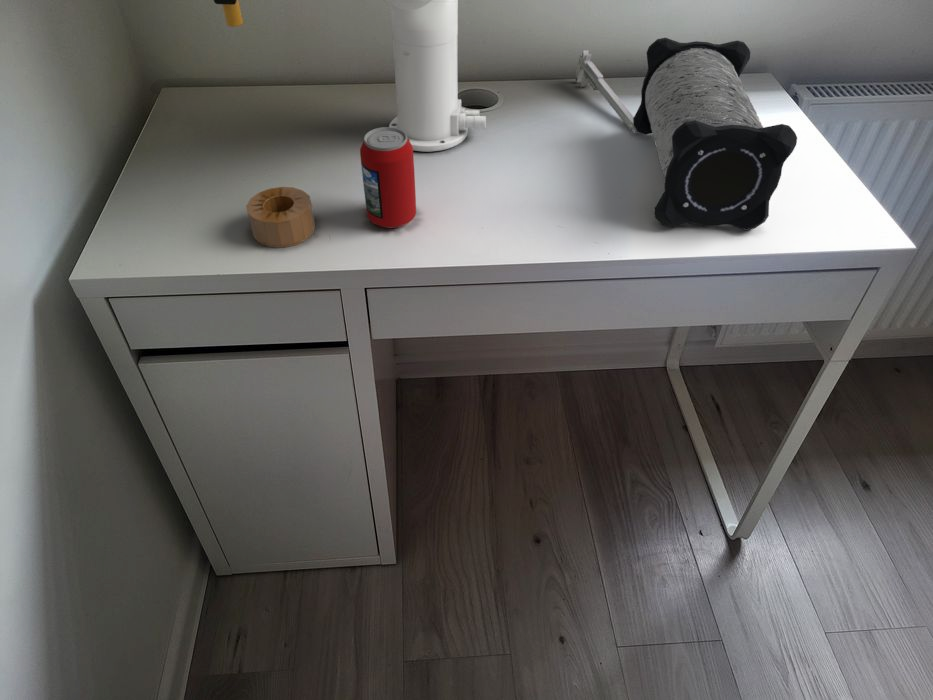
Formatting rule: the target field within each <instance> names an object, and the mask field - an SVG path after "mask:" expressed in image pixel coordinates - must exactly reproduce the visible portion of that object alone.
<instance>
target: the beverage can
mask: <svg viewBox="0 0 933 700" xmlns="http://www.w3.org/2000/svg"><path fill="white" fill-rule="evenodd" d="M359 156H360V166H361V176H362V182H363V184H362V185H363V192H364V200H365V210H366V216H367V219H368V220H369V222H371V223H372V224H374V225H377V226H379V227H382V228H387V229H394V228H400V227H404V226H405V225H407V224H409V223H411V222H412V221H413V220H414V218H415V217H416V215H417V198H416V175H415V161H414V160H415V159H414V150H413V147H412V145H411V143H410V141H409V140H408V138H407V136H406V134H405V132H403V131H402V130H400V129H397V128H392V127H389V126H383V127H377V128H374V129H371V130H369V131H368V132H366V134H365V135H364V136H363V141H362V144H361V146H360V148H359Z"/></svg>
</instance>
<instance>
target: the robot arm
mask: <svg viewBox="0 0 933 700" xmlns="http://www.w3.org/2000/svg"><path fill="white" fill-rule="evenodd" d="M383 1H384V2H385V3H386V4H388V5H389V6H390V21H391V41H392V52H393V53H392V55H393V69H394V82H395V83H394V84H395V97H396V111H397V116H395V117H394V118H393V119H391V121H390V122H389V125H388V127H392V128H397V129H400V130H402V131H403V132H405V134H406V136H407V138H408V140H409V141H410V143H411V145H412V147H413V152H414V151H415V152H423V153H424V152H427V153H428V152H429V153H430V152H440V151H444V150H448V149H451V148H454V147H456V146H458V145H460V144H461V143H462V142H463V141H464V140H465V139H466V138H467V136H468V131H469V129H475V130H476V129H477V130H486V129H487V128H486V127H487V116H486V115H480V114H481V113H480V112H481V111H480V109H466V108H465V107H462V99H461V98H460V99H459V97H458V96H459V93H458V91H459V89H458V87H459V86H458V79H459V78H458V75H459V73H458V71H459V70H458V35H459V0H383ZM213 2H214V4H216V5H222V4H229V5H234V4H235V3H236V2H237V0H213Z"/></svg>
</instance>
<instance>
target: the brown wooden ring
mask: <svg viewBox="0 0 933 700" xmlns="http://www.w3.org/2000/svg"><path fill="white" fill-rule="evenodd" d="M246 212H247V217H248V221H249V225H250V230H251V233H252V237H253V238H254V239H255V241H256V242H257V243H259V244H261V245H263V246H266V247H268V248H269V247H270V248H277V249H279V248H289V247H293V246H297V245H299V244H301V243H303V242H305V241H307V240H308V239H309V238H310V237H312V235H313V234H314V232H315V229H316V222H315V221H316V220H315V216H314V210H313V205H312V200H311V196H310V195H309V194H308V193H306V192H305V191H304V190H303V189H300V188H296V187H293V186H292V187H291V186H278V187H272V188H271V187H270V188H268V189H265V190H263V191H259V192H257V193H256V194H255V195H254V196H252V197H250V198H249V200H248V202H247V204H246Z"/></svg>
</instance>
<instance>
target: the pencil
mask: <svg viewBox="0 0 933 700" xmlns="http://www.w3.org/2000/svg"><path fill="white" fill-rule="evenodd" d="M221 7H222V11H223V14H224V19H225V23H226V26H227V27H232V28H234V27H240V26H242V25H243V24H244V19H243V16H242V12H241V7H240V3H239V0H237V2H236V3H235V4H234V5H229V4H221Z"/></svg>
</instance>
